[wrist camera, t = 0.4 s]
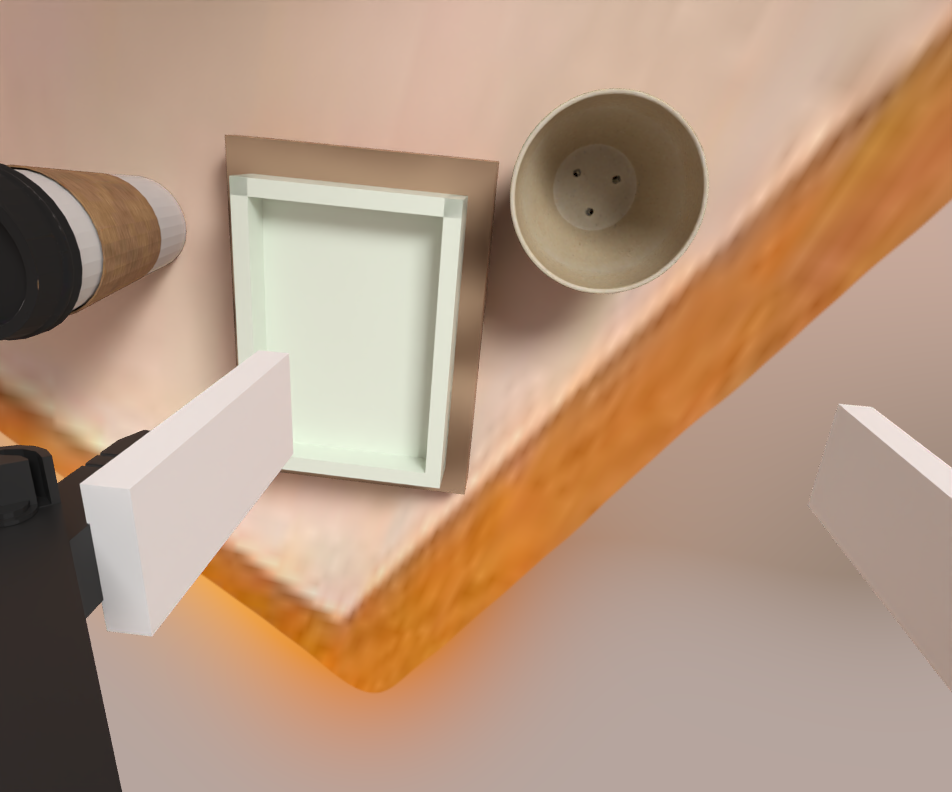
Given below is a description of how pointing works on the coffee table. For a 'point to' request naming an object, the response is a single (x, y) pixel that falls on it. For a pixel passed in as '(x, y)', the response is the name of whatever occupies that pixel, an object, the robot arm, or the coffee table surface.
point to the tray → (354, 317)
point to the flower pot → (609, 191)
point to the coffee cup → (77, 241)
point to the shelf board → (409, 175)
